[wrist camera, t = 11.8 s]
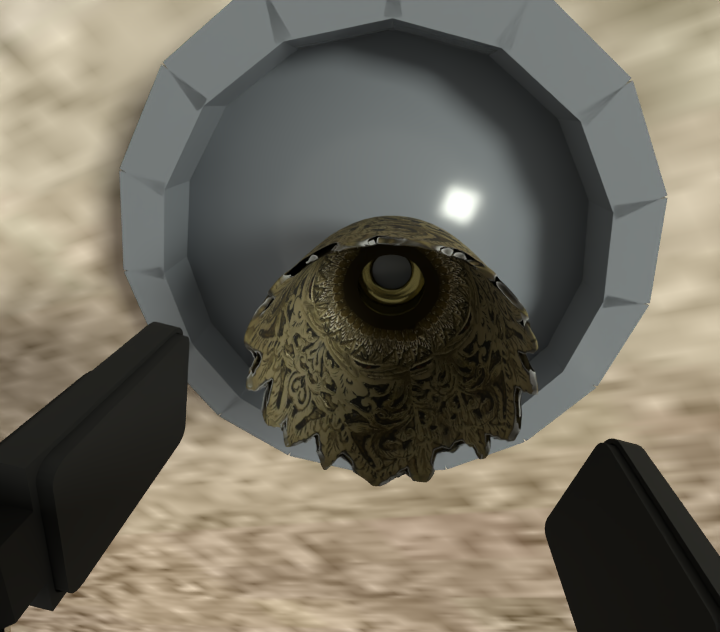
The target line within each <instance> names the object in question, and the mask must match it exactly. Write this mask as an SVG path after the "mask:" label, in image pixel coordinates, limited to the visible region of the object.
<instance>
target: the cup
mask: <svg viewBox="0 0 720 632" xmlns="http://www.w3.org/2000/svg"><path fill="white" fill-rule="evenodd" d="M384 255H398V256H402V257H405V258H406V259H407V260H408V262H409V263H410V266H411V275H410V278H409V280H408V281H407V283H406V284H404V285H403V286H402V287H399V288H396V289H387V288H384V287H382V286H380V285H379V284H378V283H377V282H376V281H375V279H374V277H373V274H372V268H373V265H374V262H375V261H376V260H377V258H378V257H380V256H384ZM267 294H268V295H267V297H266V298H265V300H264V301H263V303H262V304H261V305H260V307H259V308H258V309H257V310H256V312H255V314H254V315H253V317H252V319H251V321H250V323H249V325H248V327H247V330H246V333H245V336H244V345H245V347H246V348H247V349H248V351H250V352H251V353H252V355H253V357H254V358H255V359H254V361H253V364H252V366H251V367H250V368H249V371H248V375H247V379H246V388H247V390H252V391H257V390H260V389H261V388H262V387H265V391H264V395H263V401H262V407H261V409H262V415H263V419H264V421H265V423H266V424H267V425H268V426H272V427H274V428H276V427H280V430H281V431H283V437H284V444H285V446H286V447H292V446H296V445H298V444H301V443H303V442H304V443H307V442H308V441H310V440H311V439H312V438H313V437H314V438H315V443H316V453H317V454H318V456H319V459H320V463H321V466H322V467H323V469H324V470H327V469H328V468H329V467H330V466H331V465H332V464H333V463H334V462H335V461H336V460H337V458H342V459H344V460H345V461H347V462H348V463H349V464H350V465H351V467H352V470H353V472H354V473H356V474H358V475H359V476H361V477H362V478H364V479H365V480H366V481H368V482H369V483H370V484H371V485H372V486H382V485H384V484H386V483H388V482H389V481H391V480H393V479H394V478H396V477H400V476H402V475H404V474H407V475H408V477H411V479H412V480H413V481H417V482H428V481H429V480H430V479H431V477H432V476H433V474H434V471H435V470H434V462H435V458H436V454H440V453H443V452H449V453H455V452H456V451H457V450H458V449H459V447H460V446H459V445H461V446H463V445H462V444H466V445H468V446H469V447H472V448H473V449H474V451H475V453H476V455H477V457H478V458H479V459H484V458H486V457H487V456H488V454H489V452H490V448H491V437H495V438H493V439H498V440H505V441H507V442H511V441H514V440H515V439H516V437H517V435H518V434H519V432H520V430H521V424H522V406H521V396H522V392H523V393H528V394H533V395H538V384H537V380H536V373H535V370H534V369H533V367H532V366H531V364H530V362H529V359H528V357H527V355H526V354H527V353H532V354H534V352H536V351H537V350H538V343H537V340H536V337H535V335H534V334H533V332H532V330H531V328H530V322H529V321H527V320H528V319H529V317H528V313H527V311H526V309H525V308H524V307H523V305H522V304H521V302H520V301H519V300H518V299H517V297H516V296H515V295H514V294H513V293H512V291H511V290H510V289H509V288H508V287H507V286H506V285H505V284H504V283H503V282H502V281H501V280H500V279H499V278H498V277H497V274H496V273H495V272H494V271H492V270H491V269H490V268H489V267H487V265H486V264H485V263H484V262H483V261H482V260H481V259H480V258H478V257H477V256H476V255H475V254H474V253H473V252H472V251H471V250H470V249H469V248H468V247H467V246H465V245H464V244H463V243H462V242H461V241H460V240H458V239H457V238H456V237H454V236H453V235H451V234H450V233H448V232H447V231H445V230H443V229H441V228H439V227H437V226H435V225H433V224H431V223H429V222H426V221H423V220H420V219H416V218H411V217H405V216H379V217H372V218H368V219H364V220H361V221H358V222H355V223H352V224H350V225H348V226H346V227H344V228H342V229H340V230H338V231H337V232H335V233H333V234H332V235H330V236H329V237H328V238H326V239H325V240H324V241H322V242H321V243H320V244H319V245H317V246H316V247H315V248H314V249H313V250H311V251H310V252H309V253H308V254H307V255H306V256H305V257H304V258H302V259H301V260H300V261H299V262H298V263H297V264H296V265H295V266H294V267H293V268H292V269H290V270H289V271H287V272H285V273H284V274H283V275H282V276H281V277H280V278H279V279H278V280H277V281H276V282H275V283H274V284H273V286H272V287H271V288H270V289H269V291H268V292H267Z"/></svg>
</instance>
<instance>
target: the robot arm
mask: <svg viewBox="0 0 720 632" xmlns="http://www.w3.org/2000/svg"><path fill="white" fill-rule="evenodd" d="M189 344H190V342H189V337H187V336H184V335H183V331H182V329H181V328H179V327H175V326H172V325H168V324H164V323H160V322H152V323H150V324H149V325H147V326H146V327H145V328H144V329H143V330H141V331H140V332H139V333H138V334H136V335H135V336H134V337H133V338H132V339H130V340H129V341H128V342H127V343H125V344H124V345H123V346H122V347H121V348H119V349H118V350H117V351H116V352H114V353H113V354H112V355H111V356H110V357H108V358H107V359H106V360H105V361H103V362H102V363H101V364H100V365H99V366H97V367H96V368H95V369H94V370H92V371H90V372H88V373H86V374H85V375H83V376H82V377H81V378H79V379H78V380H77V381H76V382H74V383H73V384H72V385H71V386H70V387H68V388H67V389H66V390H65V391H63V392H62V393H61V394H60V395H58V396H57V397H56V398H55V399H53V400H52V401H51V402H50V403H48V404H47V405H46V406H45V407H44V408H42V409H41V410H40V411H39V412H37V413H36V414H35V415H34V416H32V417H31V418H30V419H29V420H27V421H26V422H25V423H24V424H23V425H21V426H20V427H19V428H18V429H16V430H15V431H14V432H13V433H11V434H10V435H9V436H8V437H6V438H5V439H4V440H3V441H2V442H0V632H11V625H12V624H14V623H16V622H17V621H18V619H19V618H20V617H21V615H22V614H23V613H24V611H25V610H26V609H27V608H28V606H29V605H30V606H34V607H38V608H42V609H46V610H50V611H53V610H54V609H55V608H56V606H57V605H58V603H59V602H60V601H61V599H62V598H63V596H64V595H65V594H66V592H68V593H74V592H75V591H77V590H78V589H79V588H80V586H81V585H82V584H83V583H84V581H85V580H86V578H87V577H88V575H89V574H90V572H91V571H92V570H93V568H94V567H95V565H96V564H97V562H98V561H99V559H100V558H101V557H102V555H103V554H104V552H105V551H106V549H107V548H108V546H109V545H110V543H111V542H112V541H113V539H114V538H115V536H116V535H117V533H118V532H119V530H120V529H121V527H122V526H123V525H124V523H125V522H126V520H127V519H128V517H129V516H130V514H131V513H132V511H133V510H134V509H135V507H136V506H137V504H138V503H139V501H140V500H141V498H142V497H143V496H144V494H145V493H146V491H147V490H148V488H149V487H150V485H151V484H152V482H153V481H154V480H155V478H156V477H157V475H158V474H159V472H160V471H161V469H162V468H163V466H164V465H165V464H166V462H167V461H168V459H169V458H170V456H171V455H172V453H173V452H174V450H175V449H176V448H177V446H178V445H179V443H180V441H181V439H182V437H183V434H184V431H185V421H186V402H187V383H188V363H189ZM545 535H546V538H547V541H548V544H549V547H550V551H551V554H552V557H553V560H554V563H555V566H556V569H557V572H558V575H559V578H560V581H561V584H562V587H563V590H564V593H565V596H566V599H567V602H568V605H569V608H570V611H571V614H572V617H573V620H574V623H575V626H576V629H577V632H720V556H719V555H718V553H717V552H716V550H715V549H714V548H713V546H712V545H711V543H710V542H709V541H708V539H707V538H706V536H705V535H704V533H703V532H702V531H701V529H700V528H699V526H698V525H697V524H696V522H695V521H694V519H693V518H692V517H691V515H690V514H689V512H688V511H687V509H686V508H685V507H684V505H683V504H682V502H681V501H680V500H679V498H678V497H677V495H676V494H675V493H674V491H673V490H672V488H671V487H670V486H669V484H668V483H667V481H666V480H665V478H664V477H663V476H662V474H661V473H660V471H659V470H658V469H657V467H656V466H655V464H654V463H653V462H652V460H651V459H650V457H649V456H648V454H647V453H646V452H645V450H644V449H643V448H642V447H641V446H639V445H637V444H633V443H629V442H625V441H621V440H617V439H608V440H606V441H605V442H604V443H599V444H598V445H597V446H596V447H595V448H594V450H593V451H592V453H591V454H590V456H589V457H588V459H587V460H586V462H585V463H584V465H583V466H582V468H581V469H580V471H579V472H578V474H577V475H576V477H575V478H574V480H573V481H572V482H571V484H570V485H569V487H568V488H567V490H566V491H565V493H564V494H563V496H562V497H561V499H560V500H559V502H558V503H557V505H556V506H555V508H554V509H553V511H552V512H551V514H550V515H549V517H548V518H547V520H546V523H545Z"/></svg>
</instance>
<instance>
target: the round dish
mask: <svg viewBox="0 0 720 632" xmlns="http://www.w3.org/2000/svg"><path fill="white" fill-rule="evenodd" d="M163 63H164V64H165V65H161V67H160V69H159V72H158V74H157V77H156V79H155V82H154V84H153V87H152V89H151V92H150V94H149V97H148V99H147V102H146V104H145V107H144V109H143V112H142V114H141V117H140V119H139V122H138V124H137V127H136V129H135V132H134V134H133V137H132V139H131V142H130V144H129V147H128V149H127V152H126V154H125V157H124V159H123V162H122V164H121V167H120V169H122V170H121V171H119V173H120V197H121V221H122V245H123V268H124V270H126V271H125V272H124V273H125V275H126V277H127V279H128V282H129V284H130V286H131V288H132V291H133V293H134V295H135V297H136V300H137V302H138V304H139V306H140V309H141V311H142V313H143V315H144V318H145V320H146V322H147V324H148V325H149V324H150V323H152V322H160V323H164V324H168V325H172V326H175V327H179V328H181V329H182V331H183V335H184V336H187V337H189V342H190V344H189V363H188V384H189V385H190V386H191V387H192V388H193V389H194V390H195V391H196V392H197V393H198V394H199V395H200V397H201V398H202V399H203V400H204V401H205V402H206V403H207V404H208V405H209V406H210V407H211V408H212V409H213V410H214V411H215V413H216V414H217V415H219V414H220V417H222V418H223V419H225V420H227V421H229V422H230V423H232V424H234V425H236V426H237V427H239V428H241V429H243V430H245V431H246V432H248V433H250V434H252V435H253V436H255V437H257V438H259V439H260V440H262V441H264V442H266V443H268V444H269V445H271V446H273V447H275V448H276V449H278V450H280V451H282V452H283V453H285V454H287V455H288V454H289V453H290V452H291V453H290V456H293V457H297V458H301V459H306V460H310V461H314V462H319V463H320V459H319V456H318V454H317V453H316V443H315V438H314V437H313V438H312V439H311V440H310V441H308V442H307V443H304V442H303V443H301V444H298V445H296V446H292V447H286V446H285V444H284V437H283V431H281V430H280V427H276V428H274V427H272V426H268V425H267V424H266V423H265V421H264V419H263V415H262V409H261V407H262V401H263V395H264V391H265V387H262V388H261V389H260V390H257V391H252V390H247V388H246V379H247V375H248V371H249V368H250V367H251V366H252V364H253V361H254V359H255V358H254V357H253V355H252V353H251V352H250V351H248V349H247V348H246V347H245V345H244V336H245V333H246V330H247V327H248V325H249V323H250V321H251V319H252V317H253V315H254V314H255V312H256V310H257V309H258V308H259V307H260V305H261V304H262V303H263V301H264V300H265V298H266V297H267V295H268V294H267V292H268V291H269V289H270V288H271V287H272V286H273V284H274V283H275V282H276V281H277V280H278V279H279V278H280V277H281V276H282V275H283V274H284V273H285V272H287V271H289V270H290V269H292V268H293V267H294V266H295V265H296V264H297V263H298V262H299V261H300V260H301V259H302V258H304V257H305V256H306V255H307V254H308V253H309V252H310V251H311V250H313V249H314V248H315V247H316V246H317V245H319V244H320V243H321V242H322V241H324V240H325V239H326V238H328V237H329V236H330V235H332V234H333V233H335V232H337V231H338V230H340V229H342V228H344V227H346V226H348V225H350V224H352V223H355V222H358V221H361V220H364V219H368V218H372V217H379V216H405V217H411V218H416V219H420V220H423V221H426V222H429V223H431V224H433V225H435V226H437V227H439V228H441V229H443V230H445V231H447V232H448V233H450V234H451V235H453V236H454V237H456V238H457V239H458V240H460V241H461V242H462V243H463V244H464V245H465V246H467V247H468V248H469V249H470V250H471V251H472V252H473V253H474V254H475V255H476V256H477V257H478V258H480V259H481V260H482V261H483V262H484V263H485V264H486V265H487V267H489V268H490V269H491V270H492V271H494V272H495V273H496V274H497V277H498V278H499V279H500V280H501V281H502V282H503V283H504V284H505V285H506V286H507V287H508V288H509V289H510V290H511V291H512V293H513V294H514V295H515V296H516V297H517V299H518V300H519V301H520V302H521V304H522V305H523V307H524V308H525V309H526V311H527V313H528V317H529V319H528V320H527V321H529V322H530V328H531V330H532V332H533V334H534V335H535V337H536V340H537V343H538V350H537V351H536V352H534V354H532V353H527V354H526V355H527V357H528V359H529V362H530V364H531V366H532V367H533V369H534V370H535V373H536V380H537V384H538V395H533V394H528V393H523V392H522V396H521V406H522V424H521V430H520V432H519V434H518V435H517V437H516V439H515V440H514V441H511V442H507V441H505V440H498V439H493V438H495V437H491V448H490V452H489V454H492V453H495V452H497V451H500V450H503V449H506V448H509V447H512V446H514V445H517V444H520V443H523V442H524V440H526V441H527V440H528V439H530V438H531V437H532V436H534V435H535V434H536V433H537V432H539V431H540V430H541V429H543V428H544V427H545V426H547V425H548V424H549V423H550V422H552V421H553V420H554V419H556V418H557V417H558V416H560V415H561V414H562V413H564V412H565V411H566V410H567V409H569V408H570V407H571V406H573V405H574V404H575V403H577V402H578V401H579V400H581V399H582V398H583V397H584V396H586V395H587V394H588V393H590V392H591V391H592V390H594V389H595V388H596V387H595V386H598V384H599V383H600V381H601V380H602V378H603V377H604V375H605V373H606V372H607V370H608V369H609V367H610V366H611V364H612V362H613V361H614V359H615V358H616V356H617V355H618V353H619V351H620V350H621V348H622V347H623V345H624V344H625V342H626V340H627V339H628V337H629V336H630V334H631V333H632V331H633V330H634V328H635V326H636V325H637V323H638V322H639V320H640V319H641V317H642V315H643V314H644V312H645V311H646V309H647V308H648V306H649V305H648V304H646V303H650V299H651V293H652V287H653V281H654V275H655V269H656V263H657V257H658V251H659V245H660V239H661V233H662V227H663V221H664V215H665V209H666V203H667V198H665V196H667V193H666V190H665V186H664V183H663V180H662V176H661V173H660V170H659V166H658V163H657V160H656V156H655V153H654V150H653V146H652V143H651V140H650V136H649V133H648V130H647V126H646V123H645V119H644V116H643V113H642V109H641V106H640V103H639V99H638V96H637V93H636V89H635V86H634V83H633V81H629V80H630V79H631V77H630V76H629V75H628V74H627V73H626V72H625V71H624V70H623V69H622V68H621V67H620V66H619V65H618V64H617V63H616V62H615V61H614V60H613V59H612V58H611V57H610V56H609V55H608V54H607V53H606V52H605V51H604V50H603V49H602V48H601V47H600V46H599V45H598V44H597V43H596V42H595V41H594V40H593V39H592V38H591V37H590V36H589V35H588V34H587V33H586V32H585V31H584V30H583V29H582V28H581V27H580V26H579V25H578V24H577V23H576V22H575V21H574V20H573V19H572V18H571V17H570V16H569V15H568V14H567V13H566V12H565V11H564V10H563V9H562V8H561V7H560V6H559V5H558V4H557V3H556V2H555V1H554V0H232V1H231V2H230V3H229V4H228V5H227V6H226V7H224V8H223V9H222V10H221V11H220V12H219V13H218V14H217V15H215V16H214V17H213V18H212V19H211V20H210V21H209V22H208V23H206V24H205V25H204V26H203V27H202V28H201V29H200V30H199V31H197V32H196V33H195V34H194V35H193V36H192V37H191V38H190V39H188V40H187V41H186V42H185V43H184V44H183V45H182V46H181V47H179V48H178V49H177V50H176V51H175V52H174V53H173V54H172V55H170V56H169V57H168V58H167V59H166V60H165V61H164V62H163ZM372 274H373V277H374V279H375V281H376V282H377V283H378V284H379V285H380V286H382V287H384V288H387V289H396V288H399V287H402V286H403V285H404V284H406V283H407V281H408V280H409V278H410V275H411V266H410V263H409V262H408V260H407V259H406V258H405V257H402V256H398V255H384V256H380V257H378V258H377V260H376V261H375V262H374V265H373V268H372ZM594 385H595V386H594ZM462 445H463V446H461V445H459V446H460V447H459V449H458V450H457V451H456V452H455V453H449V452H443V453H440V454H436V458H435V462H434V470H446V469H445V466H446V468H447V469H449V468H452V467H455V466H458V465H461V464H464V463H466V462H469V461H472V460H475V459H478V457H477V455H476V453H475V451H474V449H473V448H472V447H469V446H468V445H466V444H462ZM489 454H488V455H489ZM331 466H336V467H340V468H344V469H348V470H352V467H351V465H350V464H349V463H348V462H347V461H345V460H344V459H342V458H337V460H336V461H335V462H334V463H333V464H332V465H331Z"/></svg>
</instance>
